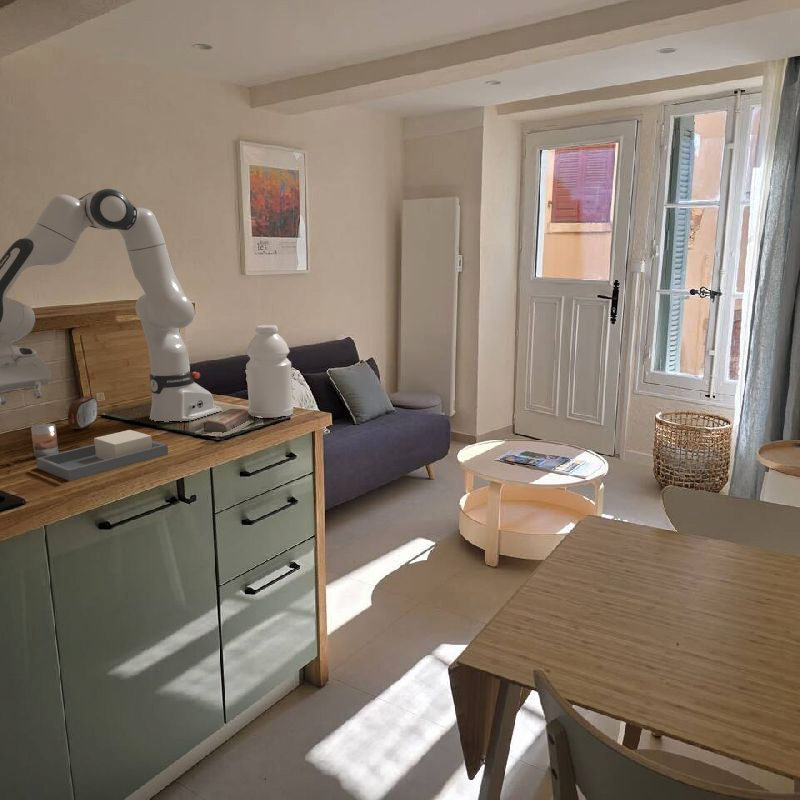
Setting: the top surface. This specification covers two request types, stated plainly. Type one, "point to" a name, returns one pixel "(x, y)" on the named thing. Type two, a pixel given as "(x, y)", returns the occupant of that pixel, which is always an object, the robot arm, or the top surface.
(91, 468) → the tray
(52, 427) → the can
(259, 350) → the bottle
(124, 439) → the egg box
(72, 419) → the brown grey rounded block
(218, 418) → the packaged product
